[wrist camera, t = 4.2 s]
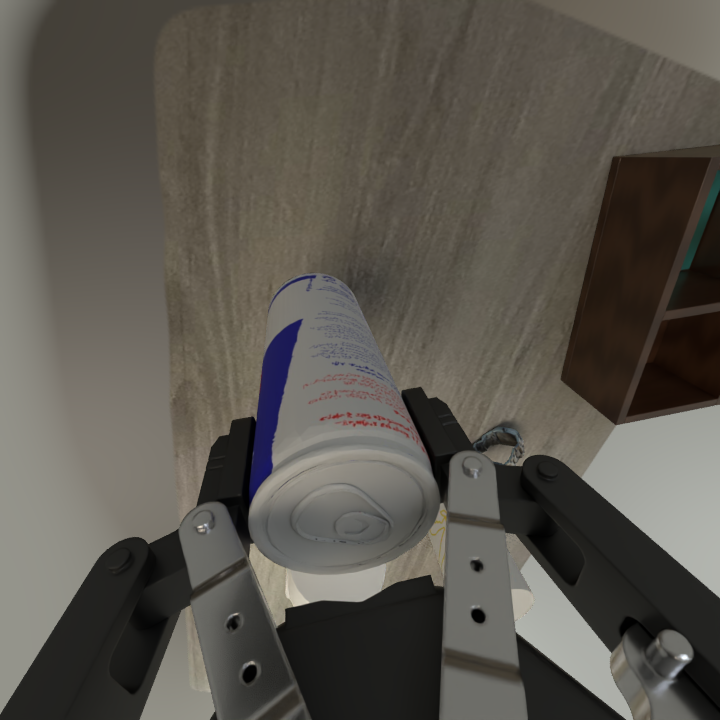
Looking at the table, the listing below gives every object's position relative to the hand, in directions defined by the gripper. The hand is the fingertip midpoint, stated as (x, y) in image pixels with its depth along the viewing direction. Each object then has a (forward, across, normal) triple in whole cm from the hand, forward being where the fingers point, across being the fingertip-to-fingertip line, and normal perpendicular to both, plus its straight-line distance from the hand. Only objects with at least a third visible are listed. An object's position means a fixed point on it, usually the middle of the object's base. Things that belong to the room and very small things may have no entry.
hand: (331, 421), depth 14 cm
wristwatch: (+18, -18, +21) cm, 33 cm away
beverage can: (+11, 0, 0) cm, 11 cm away
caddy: (+18, -31, +4) cm, 36 cm away
